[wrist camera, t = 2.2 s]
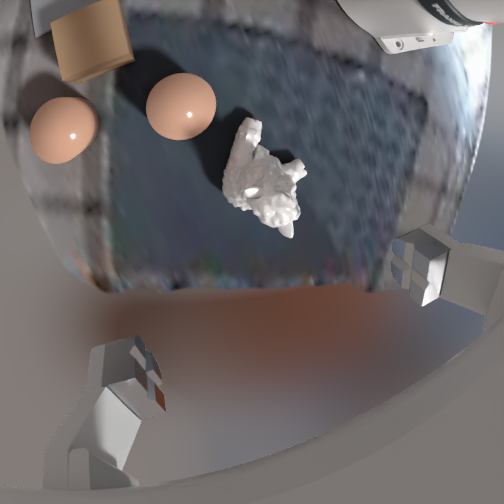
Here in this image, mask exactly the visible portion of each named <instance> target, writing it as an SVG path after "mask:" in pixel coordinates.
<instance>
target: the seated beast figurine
mask: <svg viewBox="0 0 504 504" xmlns="http://www.w3.org/2000/svg"><path fill="white" fill-rule="evenodd" d="M261 128H262V122H260V121H257V120H254V119H252V118H248V117H246V118H245V119H244V121H243V122H242V124H241V126H239V128H238V132H237V133H236V135H235V141H234V142H233V146H232V148H231V152H230V158H229V159H228V164H227V165H226V169H225V170H224V171H223V172H224V177H223V179H222V181H223V186H222V190H223V194H224V196H225V197H226V198H227V200H228V202H229V203H232V204H233V206H234V207H240V208H241V209H242V210H243V211H245V210H247V209H249V210H253V213H254V215H257V216H258V218H259V219H260V221H261V222H262V223H264V224H266V225H268V226H270V227H278V230H279V231H280V233H281V234H282V235H284V236H286V237H289V238H292V237H293V222H292V221H293V220H297V219H298V217H299V215H300V207H299V206H298V202H297V200H296V193H295V190H296V184H295V183H296V182H297V181H298V180H299V179H301V178H303V177H304V176H305V175H307V171H306V170H303V169H304V165H303V163H302V162H301V160H300V159H295V160H293V161H292V162H290V163H285V164H284V165H283V164H281V163H280V161H279V159H278V158H277V157H274V156H272V155H269V150H267V149H266V148H264V147H263V146H262V145H259V144H258V142H259V141H260V139H261V137H260V134H261ZM254 156H255V157H254ZM253 157H254V159H253Z"/></svg>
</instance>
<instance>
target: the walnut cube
mask: <svg viewBox="0 0 504 504" xmlns="http://www.w3.org/2000/svg"><path fill="white" fill-rule="evenodd" d="M51 29H52V35H53V40H54V45H55V50H56V55H57V59H58V64H59V68H60V73H61V77H62V81H69V82H76V83H82V82H84V81H86V80H88V79H91V78H93V77H96V76H98V75H100V74H103V73H105V72H108V71H110V70H113V69H116V68H118V67H121V66H124V65H127V64H129V63H132V62H135V58H134V53H133V49H132V45H131V41H130V37H129V33H128V28H127V24H126V19H125V15H124V11H123V9H122V7H121V4H120V2H119V0H101V1H98V2H96V3H93V4H91V5H88V6H86V7H83V8H81V9H79V10H76V11H74V12H72V13H70V14H68V15H65V16H63V17H61V18H59V19H57V20H55V21H53V22H51Z"/></svg>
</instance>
